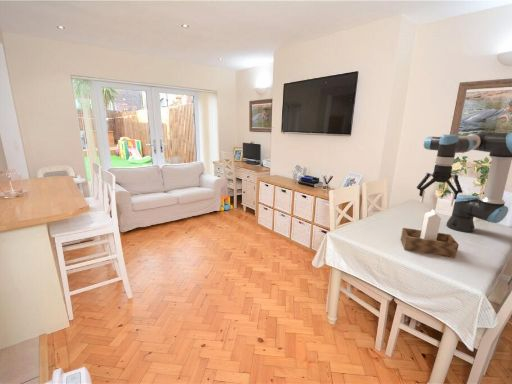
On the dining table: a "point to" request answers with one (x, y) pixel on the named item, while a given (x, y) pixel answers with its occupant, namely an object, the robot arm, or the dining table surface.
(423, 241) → the crate
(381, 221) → the dining table surface
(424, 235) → the milk
